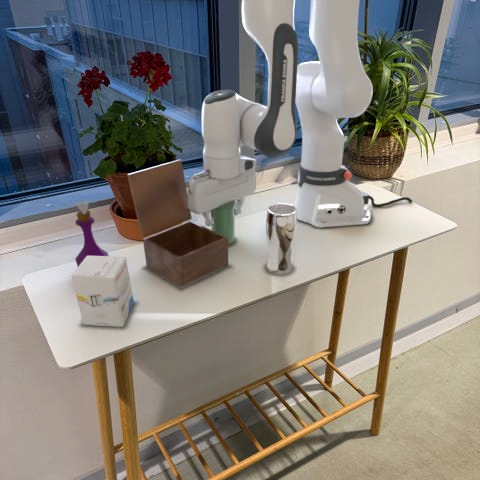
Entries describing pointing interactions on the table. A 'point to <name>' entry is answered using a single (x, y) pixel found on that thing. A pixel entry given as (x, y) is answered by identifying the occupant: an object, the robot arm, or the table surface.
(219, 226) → the green cylinder canister
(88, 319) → the ink box
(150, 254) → the box
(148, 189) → the lid
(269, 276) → the table surface
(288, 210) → the beer glass
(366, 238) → the table surface
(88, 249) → the perfume bottle
